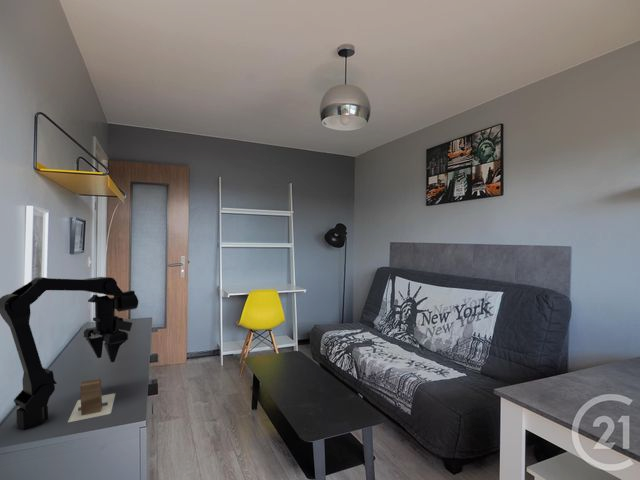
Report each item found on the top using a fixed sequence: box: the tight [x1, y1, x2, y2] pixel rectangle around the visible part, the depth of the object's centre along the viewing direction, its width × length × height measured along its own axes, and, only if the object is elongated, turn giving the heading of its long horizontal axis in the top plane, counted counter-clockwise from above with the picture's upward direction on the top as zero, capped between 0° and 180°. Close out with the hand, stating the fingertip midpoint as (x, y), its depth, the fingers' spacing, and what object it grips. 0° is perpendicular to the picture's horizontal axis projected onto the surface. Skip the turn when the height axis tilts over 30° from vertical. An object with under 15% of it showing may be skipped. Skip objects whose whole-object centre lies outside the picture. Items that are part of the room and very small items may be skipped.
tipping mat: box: [67, 392, 116, 423], centre depth 118 cm, size 17×11×2 cm, turn 25°
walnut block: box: [79, 378, 103, 416], centre depth 114 cm, size 4×5×9 cm
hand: (105, 359), depth 125 cm, fingers open, 9 cm apart
